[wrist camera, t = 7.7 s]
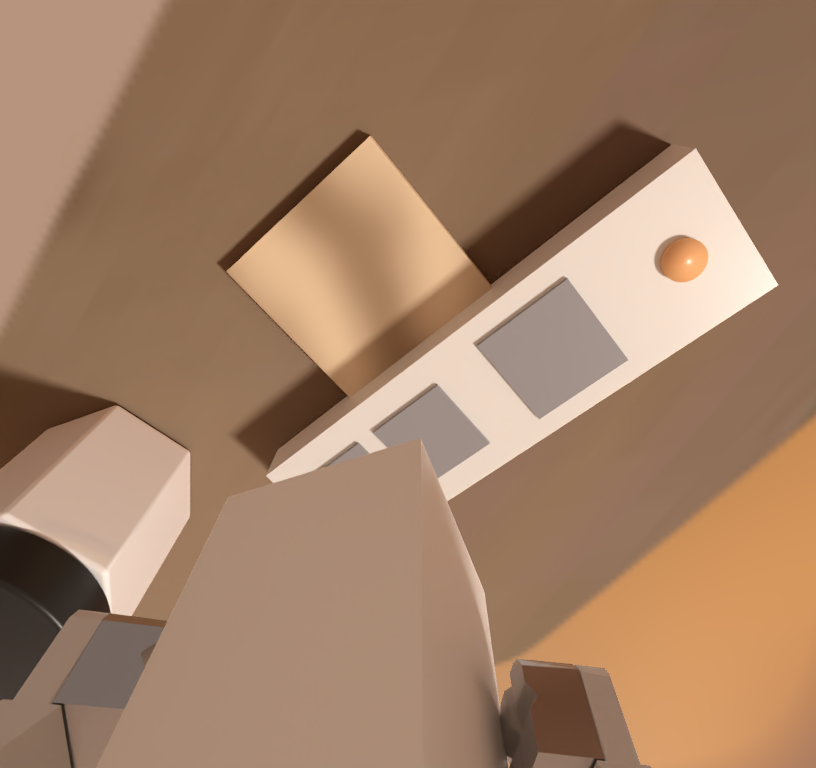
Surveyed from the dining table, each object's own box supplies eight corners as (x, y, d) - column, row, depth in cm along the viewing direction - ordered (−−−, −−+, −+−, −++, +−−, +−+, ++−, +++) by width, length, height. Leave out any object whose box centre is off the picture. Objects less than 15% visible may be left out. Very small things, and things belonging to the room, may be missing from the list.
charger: (311, 636, 14) (192, 1227, 6) (228, 497, 12) (-59, 1083, 5) (484, 592, 13) (565, 1195, 6) (420, 437, 11) (424, 1017, 4)
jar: (19, 475, 34) (-177, 652, 23) (81, 376, 31) (-110, 525, 20) (157, 555, 36) (37, 751, 25) (227, 470, 33) (126, 650, 22)
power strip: (295, 574, 36) (285, 610, 33) (210, 502, 34) (192, 534, 31) (749, 269, 27) (782, 287, 24) (671, 144, 25) (698, 149, 22)
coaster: (357, 399, 31) (356, 404, 30) (230, 268, 28) (226, 271, 27) (497, 292, 28) (498, 295, 27) (371, 135, 25) (369, 136, 25)
